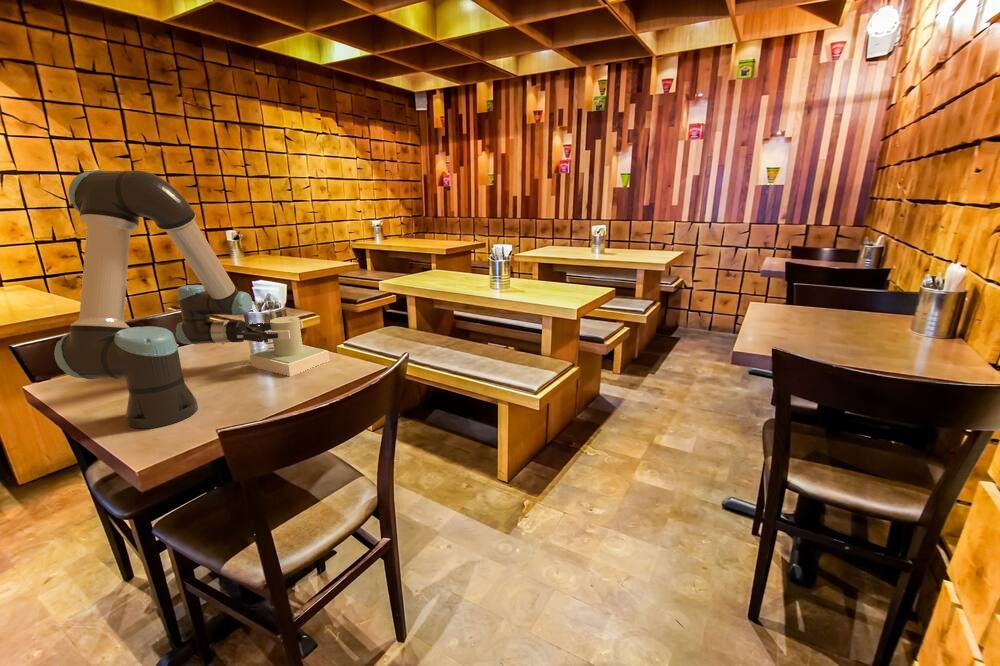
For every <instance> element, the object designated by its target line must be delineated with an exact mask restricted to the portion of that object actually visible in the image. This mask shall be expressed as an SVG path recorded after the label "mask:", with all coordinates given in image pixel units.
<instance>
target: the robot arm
mask: <svg viewBox="0 0 1000 666" xmlns="http://www.w3.org/2000/svg"><path fill="white" fill-rule="evenodd" d="M68 198H69V201H70V203H73V205H72V206H73V208H74V210H75V211H76V212H78V213H79V219H80V220H81V222H83V223H84V224H85V225H86V236H85V248H84V258H83V272H82V283H81V293H80V294H81V296H80V305H79V306H80V307H79V315H78V316H79V317H78V319H76V320H75V321H74V322H72V323H71V324H70V325H69V326H70V327H69V333H67V334H65V335H62V337H61V338H60V339H59V340H58V341H57V342H56V345H55V347H54V359H55V362H56V364H57V366H58V368H59V369H61V371H63V372H64V373H65V374H67V375H68V376H70V377H72V378H76V379H77V378H78V379H85V380H125V381H126V382H125V384H126V387H127V391H128V399H127V400H128V401H127V406H126V413H125V418H126V422H127V425H128V426H129V427H130V428H133V429H153V428H160V427H163V426H168V425H171V424H174V423H178V422H181V421H183V420H185V419H187V418H189V417H191V416H193V415H194V414H195V413H196V412H197V411H198V409H199V406H198V401H197V399H196V397H195V396H194V394H193V393H192V391H191V389H190V387H188V385H187V384H186V383H185V379H184V374H183V369H182V364H181V358H180V354H179V348H178V343H177V341H178V342H180V343H181V344H185V345H201V344H202V345H203V344H205V345H206V344H217V343H218V344H219V343H220V344H221V345H224V344H226V343H243V342H245V341H248V342H257V343H266V344H267V343H269V341H271V340H272V341H273V340H276V339H290V332H289V330H287V331H271V325H270V323H264V324H263V323H256V324H253V322H252V323H249V324H248V325H247V324H246V323H245V322H244V320H242V319H231V320H229V319H226V320H224V319H223V320H211V316H214V315H215V316H244V315H248V314H249V313H250V312H251V311H252V309H253V299H252V297H251V295H250V294H249V293H248V292H245V291H239V290H238V289H237V287H236V286H235V284H234V282H233V281H232V280H231V278H230V276H229V275H228V272H227V271H226V270H225V268H224V266H223V264H222V263H221V261H220V260H219V258H218V257H217V255H216V253H215V251H214V249H213V248H212V246H211V245H210V243H209V242H208V241H207V238H206V236H205V235H204V234H203V231H202V230H201V228H200V227H199V226H198V224H197V222H196V221H195V219H196V216H197V215H196V212H195V211H194V210H193V207H192V206H191V205H190V203H189V202H188V200H187V199H186V198H185V197H184V196H183V195H182V194H181V193H180V192H179V191H178V190H177V189H176V188H175V187H174V186H173V185H172V184H170V183H169V182H168V181H166V180H164V179H163V178H162V177H160V176H158V175H156V174H154V173H152V172H149V171H145V170H138V169H137V170H136V169H135V170H102V169H99V170H98V169H97V170H93V171H85V172H81V173H79V174H78V175H76V176H75V177H74V178H73V179H72V181H71V182H70V185H69V187H68ZM140 218H148V219H150V220H151V221H153V222H154V224H155V225H156V227H157V228H158V229H160V230H162V231H165V232H166V234H167V236H169V238H170V240H171V241H172V242H173V244H174V245H175V247H176V249H177V250H178V251H179V253H180V254H181V255H182V257H183V258H184V259H185V262H186V263H187V265H188V267H190V269H191V271H193V273H194V275H195V276H196V277H197V279H198V280H199V281H200V283H201V284H189V285H182V286H180V287H178V288H177V290H176V292H177V297H178V298H177V301H178V305H179V308H180V309H179V310H180V314H181V318H182V321H181V322H179V323H177V325H176V327H175V330H176V332H175V335H174V334H173V332H172V331H170V329H168V328H165V327H160V326H153V325H152V326H151V325H150V326H149V325H148V326H134V327H130V326H129V325H128V324H127V323H126V322H125V309H126V308H125V306H126V293H127V280H128V269H129V267H128V266H129V255H130V243H131V242H130V241H131V233H132V232H134V231H136V230H137V229H139V225H140V223H139V222H140ZM299 322H300V329H302V328H304V325H303V319H299ZM258 325H260V326H258ZM175 336H176V338H177V341H176V339H175Z"/></svg>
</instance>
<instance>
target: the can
mask: <svg viewBox="0 0 1000 666" xmlns="http://www.w3.org/2000/svg"><path fill="white" fill-rule="evenodd" d="M299 320H300V318H299V317H298V316H293V315H292V316H280V317H276V318H275V317H274V318H272V319H270V320H269V321H270V325H271V330H270V331H287V330H289V332H290V339H276V340H272V343H273V348H274V354H275V355H277V356H292V355H296V354H299V353H301V352H303V351H304V349H303V346H304V345H303V340H302V333H301V332H302V331H301V328H300V322H299Z"/></svg>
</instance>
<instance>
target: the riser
mask: <svg viewBox="0 0 1000 666" xmlns="http://www.w3.org/2000/svg"><path fill="white" fill-rule="evenodd" d="M303 349H304V351H303V352H301V353H299V354H296V355H292V356H277V355H275V354H274V347H272V348H269V349H265V350H262V351H259V352H256V353H253V354H249V361H250V366H251V367H253V368H256V369H259V370H263V371H268V372H271V373H275V374H278V373H279V375H282V374H283V376H286V375H287V377H292V376H295V374H296V375H299V374H301V373H303V371H304V372H306V371H308V370H307V369H309V370H311V369H313V368H312V367H314V368H316V367H315V366H317V365H319V366H321V365H320V364H322V363H325V362H327V363H329V362H328V361H330V354H329V353H330V351H329V350H326V349H322V348H316V347H312V346H309V345H303ZM330 362H331V361H330ZM325 364H326V363H325ZM322 365H323V364H322ZM317 367H318V366H317ZM310 368H311V369H310ZM305 370H306V371H305ZM300 372H301V373H300Z"/></svg>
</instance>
